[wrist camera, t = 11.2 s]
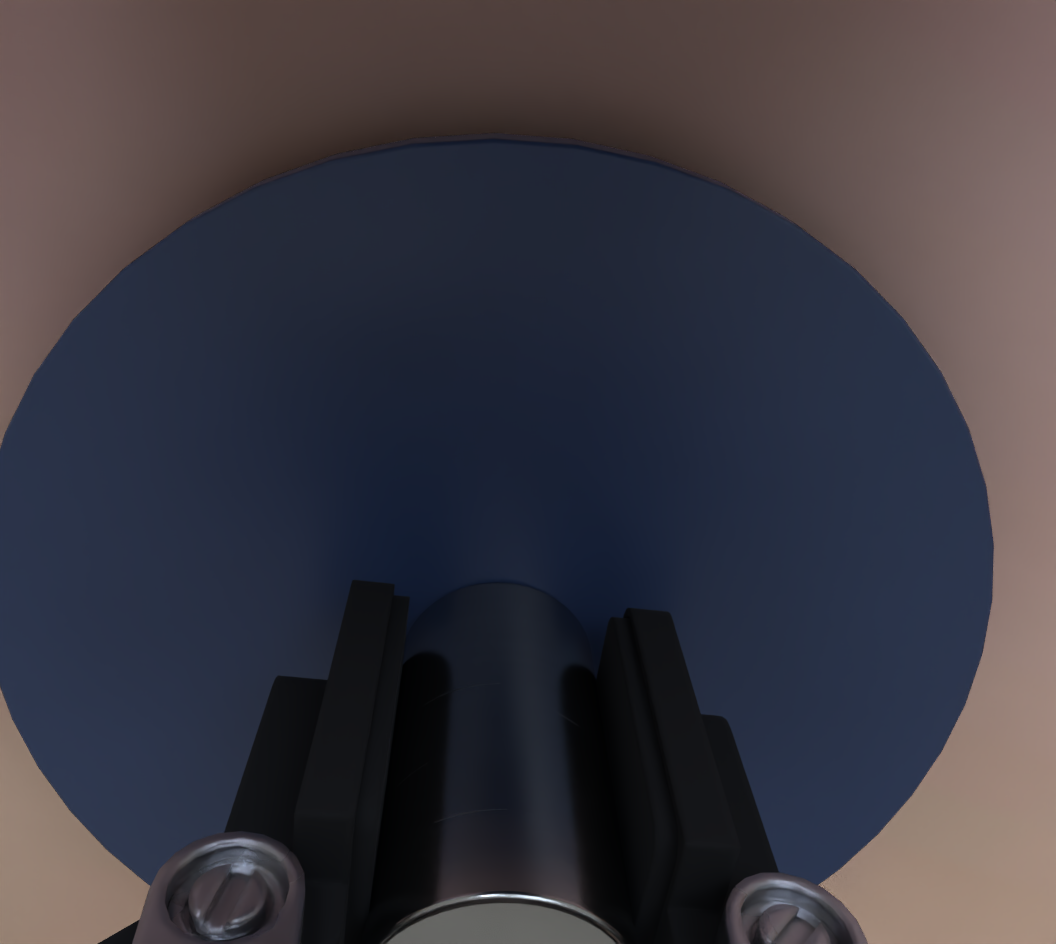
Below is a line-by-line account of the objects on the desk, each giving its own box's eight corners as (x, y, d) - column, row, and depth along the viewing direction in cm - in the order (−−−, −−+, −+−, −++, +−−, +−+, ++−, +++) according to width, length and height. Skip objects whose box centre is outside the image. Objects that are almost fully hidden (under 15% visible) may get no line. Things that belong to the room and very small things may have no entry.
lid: (-31, 45, 11) (-607, 74, 5) (1105, 210, 12) (1650, 381, 6) (54, 902, 16) (-172, 1361, 11) (814, 954, 18) (965, 1390, 12)
